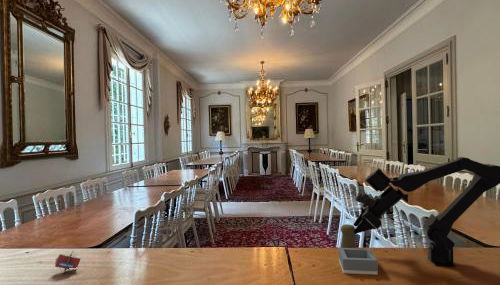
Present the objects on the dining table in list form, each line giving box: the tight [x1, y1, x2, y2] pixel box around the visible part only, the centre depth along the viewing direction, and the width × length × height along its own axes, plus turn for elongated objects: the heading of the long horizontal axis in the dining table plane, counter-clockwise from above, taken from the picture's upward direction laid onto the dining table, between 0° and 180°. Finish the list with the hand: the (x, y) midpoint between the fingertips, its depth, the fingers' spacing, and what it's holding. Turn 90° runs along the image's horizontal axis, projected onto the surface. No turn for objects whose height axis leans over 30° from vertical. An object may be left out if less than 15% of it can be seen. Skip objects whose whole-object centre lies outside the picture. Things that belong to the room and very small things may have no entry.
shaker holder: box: [338, 247, 379, 275], centre depth 103 cm, size 11×11×4 cm
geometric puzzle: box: [54, 250, 81, 271], centre depth 105 cm, size 7×7×8 cm
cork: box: [340, 223, 357, 248], centre depth 114 cm, size 6×6×11 cm
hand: (354, 228), depth 113 cm, fingers open, 9 cm apart
